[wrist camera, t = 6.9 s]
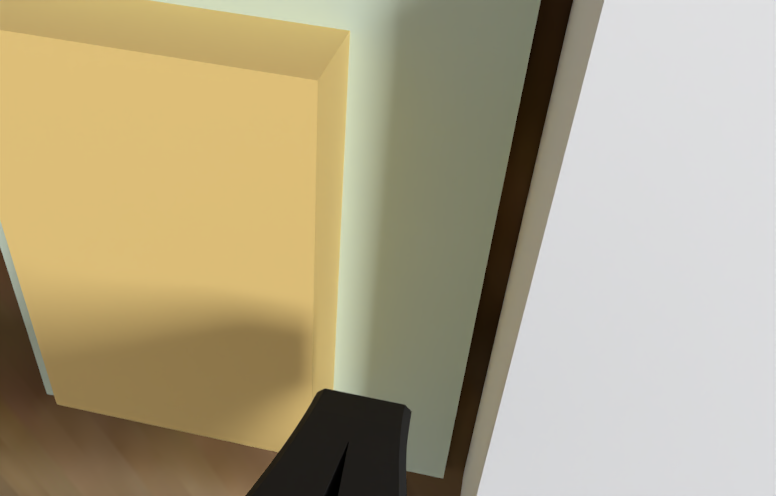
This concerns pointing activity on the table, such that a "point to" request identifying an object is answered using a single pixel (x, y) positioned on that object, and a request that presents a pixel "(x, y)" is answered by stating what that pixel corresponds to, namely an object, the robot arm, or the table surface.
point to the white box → (643, 266)
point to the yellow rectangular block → (176, 208)
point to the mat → (410, 191)
